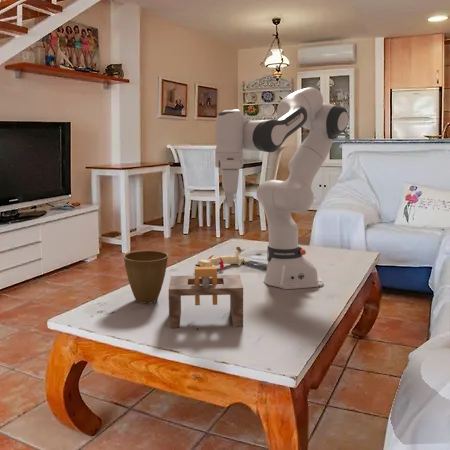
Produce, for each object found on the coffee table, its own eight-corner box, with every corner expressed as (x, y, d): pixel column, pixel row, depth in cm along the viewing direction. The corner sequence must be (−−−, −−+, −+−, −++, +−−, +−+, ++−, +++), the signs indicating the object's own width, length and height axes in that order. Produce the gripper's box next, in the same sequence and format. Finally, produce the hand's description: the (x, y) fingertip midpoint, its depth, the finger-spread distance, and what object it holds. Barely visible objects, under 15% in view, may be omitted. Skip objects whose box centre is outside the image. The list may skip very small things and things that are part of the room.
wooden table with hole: (239, 310, 168) (239, 268, 165) (243, 326, 154) (243, 281, 152) (171, 311, 167) (170, 269, 164) (169, 328, 153) (168, 282, 150)
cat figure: (232, 263, 231) (188, 269, 214) (233, 244, 230) (189, 249, 213) (248, 268, 224) (204, 274, 207) (249, 248, 223) (205, 253, 206)
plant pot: (131, 310, 168) (129, 262, 165) (121, 296, 182) (119, 252, 179) (174, 303, 174) (173, 257, 171) (161, 291, 188) (160, 248, 185)
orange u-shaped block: (195, 305, 158) (194, 269, 156) (195, 302, 161) (194, 266, 159) (217, 304, 158) (216, 268, 156) (216, 301, 161) (216, 266, 159)
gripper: (217, 159, 174) (218, 200, 176) (220, 163, 154) (220, 209, 156) (236, 159, 174) (236, 200, 177) (241, 163, 154) (241, 209, 157)
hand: (229, 204), depth 166 cm, fingers open, 8 cm apart
